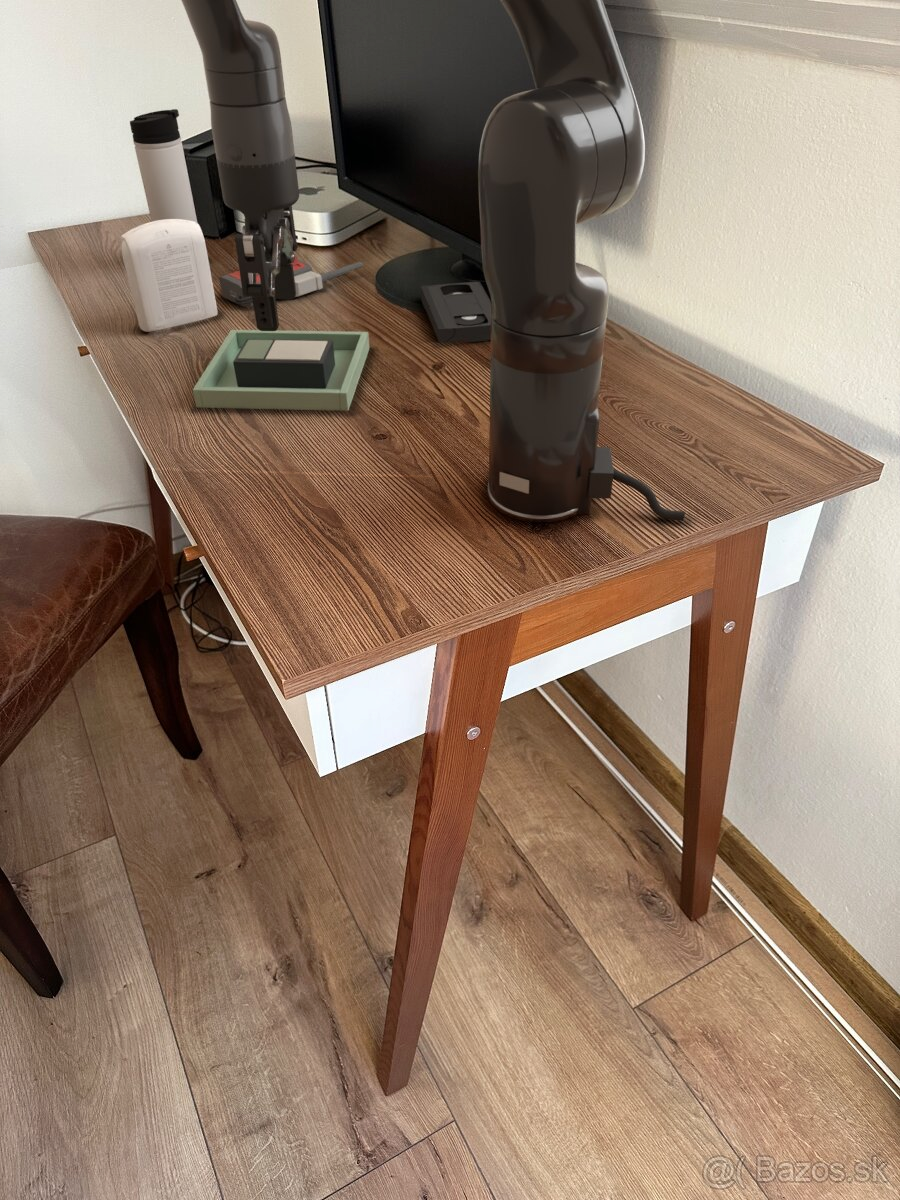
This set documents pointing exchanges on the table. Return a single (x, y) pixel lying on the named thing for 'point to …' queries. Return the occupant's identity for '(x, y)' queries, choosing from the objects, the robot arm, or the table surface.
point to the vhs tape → (458, 311)
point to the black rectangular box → (284, 363)
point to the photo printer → (168, 273)
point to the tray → (224, 393)
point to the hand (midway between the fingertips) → (277, 313)
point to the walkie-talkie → (302, 275)
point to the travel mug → (163, 165)
